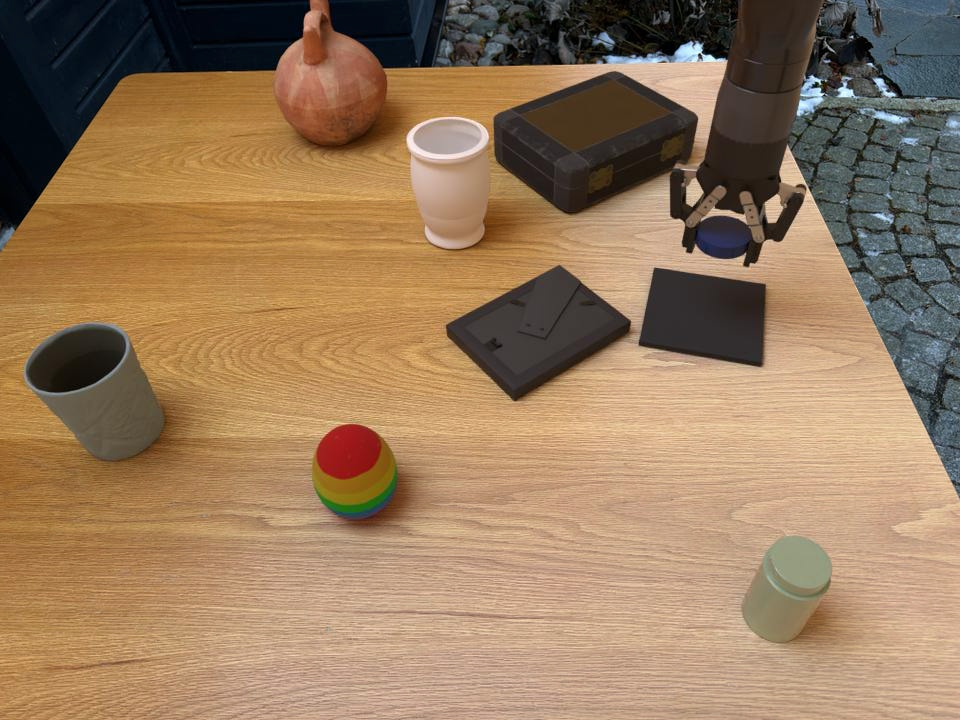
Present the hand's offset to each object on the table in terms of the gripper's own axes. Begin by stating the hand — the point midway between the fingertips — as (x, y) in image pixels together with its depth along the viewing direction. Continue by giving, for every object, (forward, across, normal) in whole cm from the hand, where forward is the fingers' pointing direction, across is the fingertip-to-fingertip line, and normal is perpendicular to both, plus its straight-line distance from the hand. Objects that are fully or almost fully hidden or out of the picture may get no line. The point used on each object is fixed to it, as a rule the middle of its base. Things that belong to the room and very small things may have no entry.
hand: (718, 255), depth 85 cm
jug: (+10, -67, +23) cm, 71 cm away
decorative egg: (+10, -26, -39) cm, 48 cm away
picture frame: (+10, -18, -11) cm, 23 cm away
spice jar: (+9, +14, -35) cm, 39 cm away
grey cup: (+10, -54, -42) cm, 70 cm away
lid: (-3, 0, 0) cm, 3 cm away
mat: (+9, 0, 0) cm, 9 cm away
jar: (+10, -36, +4) cm, 37 cm away
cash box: (+10, -24, +29) cm, 39 cm away
